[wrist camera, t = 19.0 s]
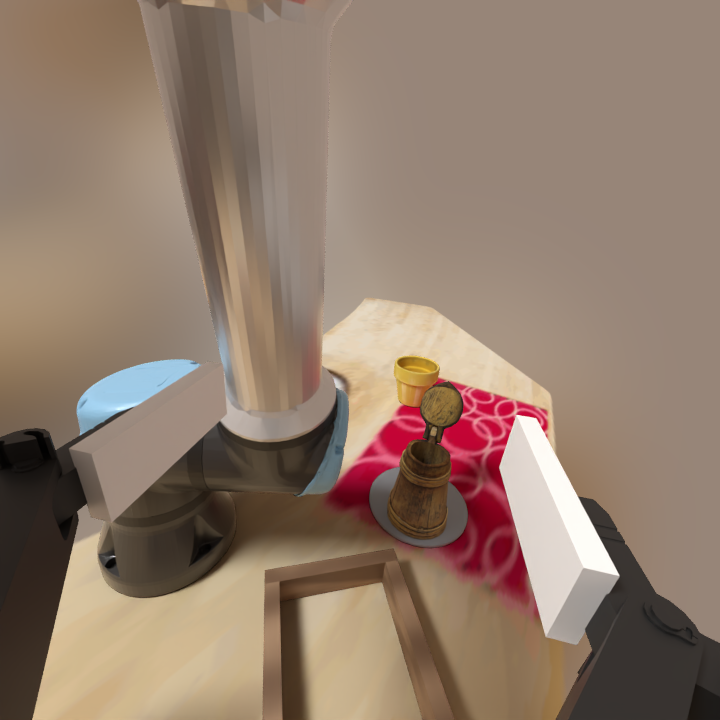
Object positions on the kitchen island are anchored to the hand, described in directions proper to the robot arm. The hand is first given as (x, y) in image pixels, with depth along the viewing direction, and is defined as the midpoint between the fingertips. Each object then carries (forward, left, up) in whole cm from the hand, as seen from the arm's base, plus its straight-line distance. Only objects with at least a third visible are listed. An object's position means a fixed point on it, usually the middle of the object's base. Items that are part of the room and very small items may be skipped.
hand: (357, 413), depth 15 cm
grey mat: (-22, +18, -32) cm, 43 cm away
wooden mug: (-22, +18, -32) cm, 42 cm away
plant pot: (-52, +29, -32) cm, 68 cm away
